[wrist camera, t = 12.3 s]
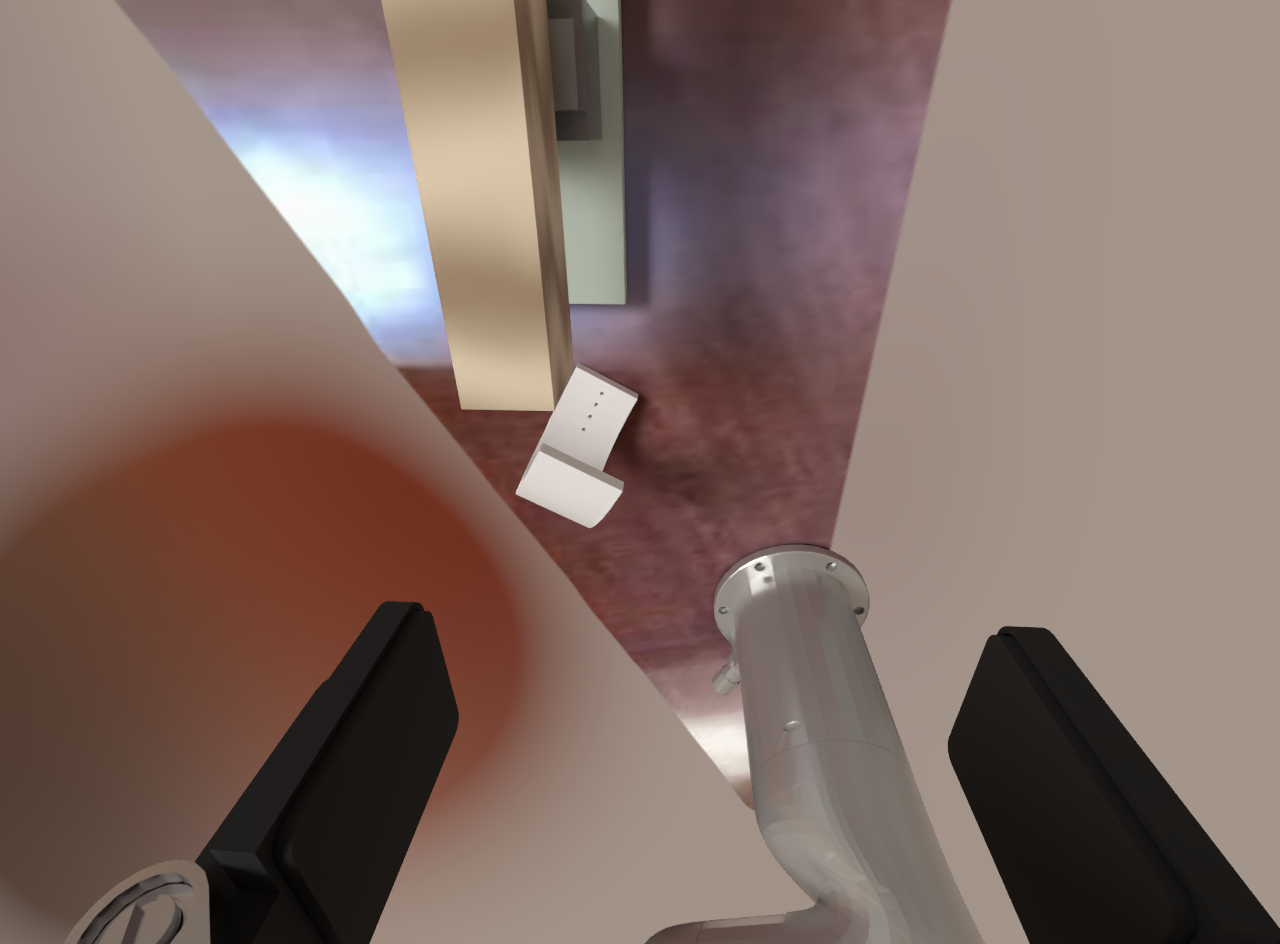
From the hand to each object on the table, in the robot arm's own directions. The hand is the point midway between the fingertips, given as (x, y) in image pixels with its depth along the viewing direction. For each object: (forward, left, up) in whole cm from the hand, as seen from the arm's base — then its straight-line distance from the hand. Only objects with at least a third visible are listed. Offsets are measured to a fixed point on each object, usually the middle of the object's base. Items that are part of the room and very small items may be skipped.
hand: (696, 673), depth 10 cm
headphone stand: (-11, +2, -29) cm, 31 cm away
